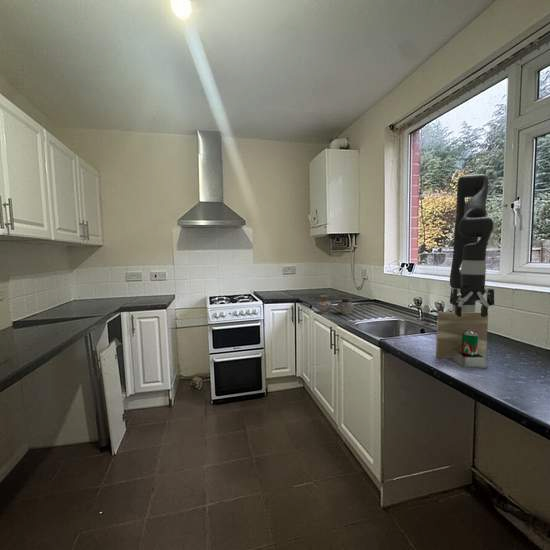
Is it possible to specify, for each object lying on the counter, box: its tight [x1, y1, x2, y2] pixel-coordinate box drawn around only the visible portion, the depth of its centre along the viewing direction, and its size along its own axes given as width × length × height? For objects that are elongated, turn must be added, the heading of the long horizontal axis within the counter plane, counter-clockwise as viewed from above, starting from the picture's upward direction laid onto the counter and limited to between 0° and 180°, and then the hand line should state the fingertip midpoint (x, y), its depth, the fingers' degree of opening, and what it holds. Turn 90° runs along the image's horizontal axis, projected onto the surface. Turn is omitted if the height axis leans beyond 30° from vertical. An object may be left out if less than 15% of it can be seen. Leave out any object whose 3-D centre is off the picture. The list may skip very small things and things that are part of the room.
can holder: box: [449, 349, 488, 369], centre depth 114 cm, size 10×8×4 cm
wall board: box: [435, 311, 489, 359], centre depth 119 cm, size 2×18×18 cm, turn 84°
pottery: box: [316, 294, 356, 316], centre depth 205 cm, size 11×25×12 cm, turn 78°
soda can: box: [461, 330, 478, 357], centre depth 113 cm, size 5×5×12 cm
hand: (470, 316), depth 112 cm, fingers open, 8 cm apart
